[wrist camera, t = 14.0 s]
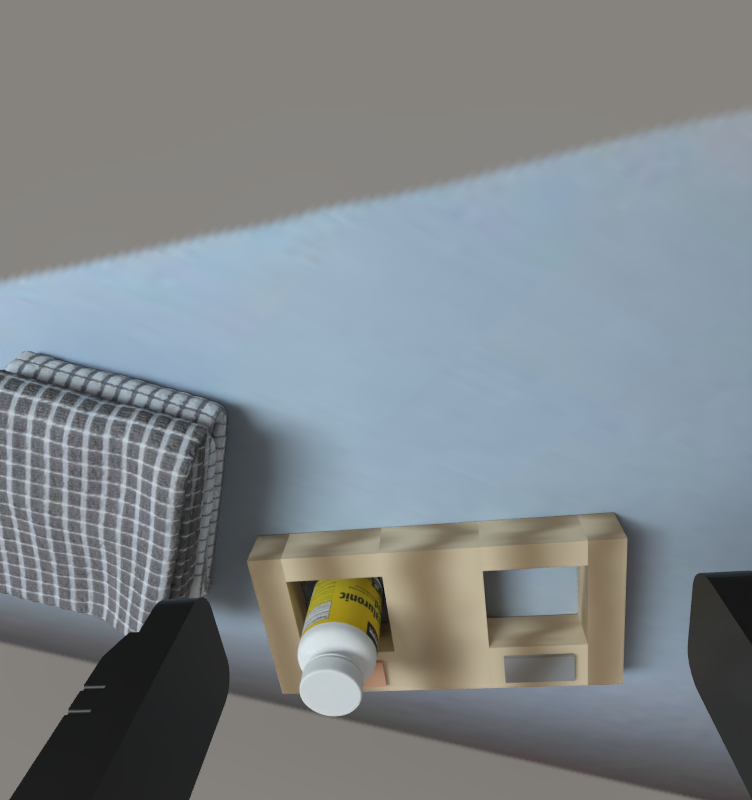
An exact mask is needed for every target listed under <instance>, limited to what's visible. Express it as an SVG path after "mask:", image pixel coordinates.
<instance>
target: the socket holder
mask: <svg viewBox="0 0 752 800" xmlns="http://www.w3.org/2000/svg"><path fill="white" fill-rule="evenodd" d="M247 564H248V568H249V572H250V575H251V579H252V583H253V586H254V590H255V594H256V597H257V601H258V605H259V608H260V612H261V616H262V620H263V623H264V627H265V631H266V634H267V638H268V642H269V645H270V649H271V653H272V656H273V660H274V664H275V667H276V671H277V675H278V679H279V682H280V686H281V690H282V693H283V694H296V693H300V683H301V678H302V673H303V672H302V670H301V668H300V665H299V662H298V647H299V642H300V638H301V635H302V631H303V627H304V623H305V620H306V616H307V612H308V610H307V605H306V601H305V597H304V592H303V588H302V584H301V581H312V580H330V579H348V578H367V577H382V579H383V585H384V591H385V597H386V603H387V609H388V615H389V621H390V622H385V623H380V633H379V643H378V654H377V661H376V666H375V669H374V671H373V673H372V675H371V676H370V677H369V679H368V680H367V681H365V682H364V686H363V692H366V691H400V690H435V689H470V688H505V687H540V686H575V685H609V684H623V663H624V632H625V600H626V569H627V537H626V535H625V533H624V531H623V529H622V527H621V525H620V523H619V521H618V519H617V517H616V515H615V513H599V514H583V515H568V516H553V517H538V518H523V519H508V520H492V521H477V522H462V523H447V524H432V525H416V526H401V527H386V528H371V529H356V530H341V531H325V532H310V533H295V534H280V535H265V536H258V537H257V540H256V542H255V544H254V546H253V548H252V551H251V553H250V555H249V557H248V560H247ZM567 566H578V614H566V615H543V616H520V617H498V618H487V617H486V605H485V593H484V581H483V571H494V570H513V569H531V568H549V567H567Z"/></svg>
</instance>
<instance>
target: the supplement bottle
mask: <svg viewBox="0 0 752 800" xmlns="http://www.w3.org/2000/svg"><path fill="white" fill-rule="evenodd" d="M382 605H383V589H382V585H381V583H380V581H379V579H378V578H377V577H367V578H348V579H330V580H316V583H315V586H314V589H313V593H312V597H311V601H310V605H309V608H308V612H307V616H306V620H305V623H304V627H303V631H302V635H301V638H300V642H299V647H298V662H299V665H300V668H301V670H302V672H303V673H302V678H301V683H300V696H301V698H302V700H303V702H304V703H305V704H306V705H307V706H308V707H309V708H310V709H312V710H313V711H315V712H317V713H320V714H323V715H327V716H341V715H345V714H348V713H350V712H352V711H353V710H355V709H356V708H357V707H358V705H359V704H360V702H361V699H362V692H363V686H364V682H365V681H367V680H368V679H369V677H370V676H371V675H372V673H373V671H374V669H375V666H376V661H377V654H378V643H379V633H380V623H381V614H382Z"/></svg>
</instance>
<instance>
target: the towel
mask: <svg viewBox="0 0 752 800" xmlns="http://www.w3.org/2000/svg"><path fill="white" fill-rule="evenodd" d="M226 427H227V412H226V410H225V409H224V407H223V406H221V405H220V404H218V403H215V402H212V401H208V400H207V399H204V398H201V397H198V396H193V395H190V394H188V393H185V392H178V391H176V390H173V389H168V388H162V387H160V386H157V385H154V384H147V383H146V382H144V381H142V380H138V379H131V378H129V377H126V376H123V375H115V374H113V373H110V372H107V371H99V370H95V369H91V368H85V367H82V366H78V365H75V364H74V365H72V364H70V363H67V362H64V361H60V360H56V359H54V358H52V357H49V356H44V355H39V354H38V353H34V352H32V351H24V352H22V353H21V354H20V356H18V357H17V358H16V359H15V360H13V361H12V362H10V363H9V364H8V365H7V366H6V368H5V370H0V592H1V593H3V594H12V595H13V596H16V597H18V598H21V599H28V600H30V601H33V602H40V603H44V604H47V605H50V606H56V607H60V608H61V609H66V610H71V611H77V612H79V613H84V614H89V615H93V616H94V617H97V618H99V619H101V620H106V622H107V623H109V624H110V625H112V626H114V627H115V628H116V630H117V631H118V632H119V633H121V634H123V635H125V636H126V635H127V634H128V633H129V632H139V631H140V629H141V627H142V626H143V624H144V622H145V621H146V619H147V618H148V616H149V614H150V613H151V611H152V609H153V608H154V606H155V605H156V604H157V603H158V602H159V601H161V600H164V599H183V598H200V597H202V596H204V595H207V594H209V589H210V584H211V579H212V578H211V571H212V566H213V565H212V563H213V556H214V551H215V541H216V537H217V536H216V531H217V529H218V524H217V523H218V517H219V509H220V499H221V488H222V480H223V474H224V460H225V448H226V441H227V431H226Z"/></svg>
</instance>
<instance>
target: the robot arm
mask: <svg viewBox="0 0 752 800" xmlns="http://www.w3.org/2000/svg"><path fill="white" fill-rule="evenodd" d="M688 659H689V665H690V669H691V673H692V677H693V680H694V683H695V686H696V688H697V690H698V692H699V694H700V696H701V698H702V700H703V702H704V704H705V706H706V708H707V710H708V712H709V714H710V716H711V718H712V720H713V722H714V724H715V726H716V728H717V730H718V732H719V734H720V736H721V738H722V740H723V742H724V744H725V746H726V748H727V750H728V752H729V754H730V756H731V758H732V760H733V762H734V764H735V766H736V768H737V770H738V772H739V774H740V776H741V778H742V780H743V782H744V784H745V786H746V788H747V790H748V792H749V794H750V796H751V798H752V571H732V572H713V573H699V574H697V575H696V576H695V578H694V581H693V590H692V602H691V614H690V625H689V637H688ZM228 689H229V665H228V660H227V657H226V654H225V651H224V647H223V644H222V641H221V638H220V635H219V631H218V628H217V625H216V622H215V618H214V615H213V612H212V609H211V606H210V604H209V602H208V600H207V599H205V598H183V599H164V600H161V601H159V602H158V603H157V604H156V605H155V606H154V608H153V609H152V611H151V613H150V614H149V616H148V618H147V619H146V621H145V622H144V624H143V626H142V627H141V629H140V631H139V632H129V633H128V634H127V635H126V636H125V637H124V638H123V639H122V640H120V641H119V642H118V643H117V644H116V645H115V646H114V647H113V648H112V649H111V650H109V651H108V652H107V653H106V654H105V655H104V656H103V657H102V658H101V660H100V661H99V663H98V664H97V666H96V668H95V669H94V671H93V672H92V674H91V675H90V677H89V678H88V680H87V681H86V683H85V684H84V690H83V691H80V692H79V694H78V695H77V697H76V698H75V700H74V701H73V703H72V704H71V706H70V708H69V713H68V715H65V716H64V717H63V718H62V720H61V721H60V723H59V724H58V726H57V727H56V729H55V731H54V732H53V734H52V735H51V737H50V738H49V740H48V741H47V743H46V744H45V746H44V747H43V749H42V750H41V752H40V754H39V755H38V757H37V758H36V760H35V761H34V763H33V764H32V766H31V767H30V769H29V770H28V772H27V773H26V775H25V777H24V778H23V780H22V781H21V783H20V784H19V786H18V787H17V789H16V791H15V792H14V793H13V795H12V797H11V798H10V800H189V799H190V796H191V793H192V791H193V788H194V785H195V782H196V780H197V777H198V775H199V772H200V769H201V767H202V764H203V761H204V758H205V756H206V753H207V750H208V748H209V745H210V742H211V740H212V737H213V734H214V731H215V729H216V726H217V723H218V721H219V718H220V716H221V712H222V710H223V707H224V705H225V702H226V698H227V695H228Z"/></svg>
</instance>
